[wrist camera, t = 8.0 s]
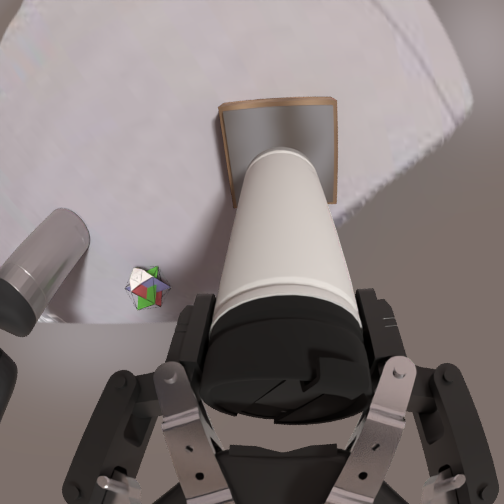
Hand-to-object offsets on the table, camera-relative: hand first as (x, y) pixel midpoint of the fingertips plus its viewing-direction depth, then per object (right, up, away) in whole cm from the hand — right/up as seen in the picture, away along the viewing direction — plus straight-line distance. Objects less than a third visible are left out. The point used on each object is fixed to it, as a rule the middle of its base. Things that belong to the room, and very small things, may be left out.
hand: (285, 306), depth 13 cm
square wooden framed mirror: (+2, +15, +19) cm, 24 cm away
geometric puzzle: (-18, -1, +34) cm, 38 cm away
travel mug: (+1, +9, +12) cm, 15 cm away
